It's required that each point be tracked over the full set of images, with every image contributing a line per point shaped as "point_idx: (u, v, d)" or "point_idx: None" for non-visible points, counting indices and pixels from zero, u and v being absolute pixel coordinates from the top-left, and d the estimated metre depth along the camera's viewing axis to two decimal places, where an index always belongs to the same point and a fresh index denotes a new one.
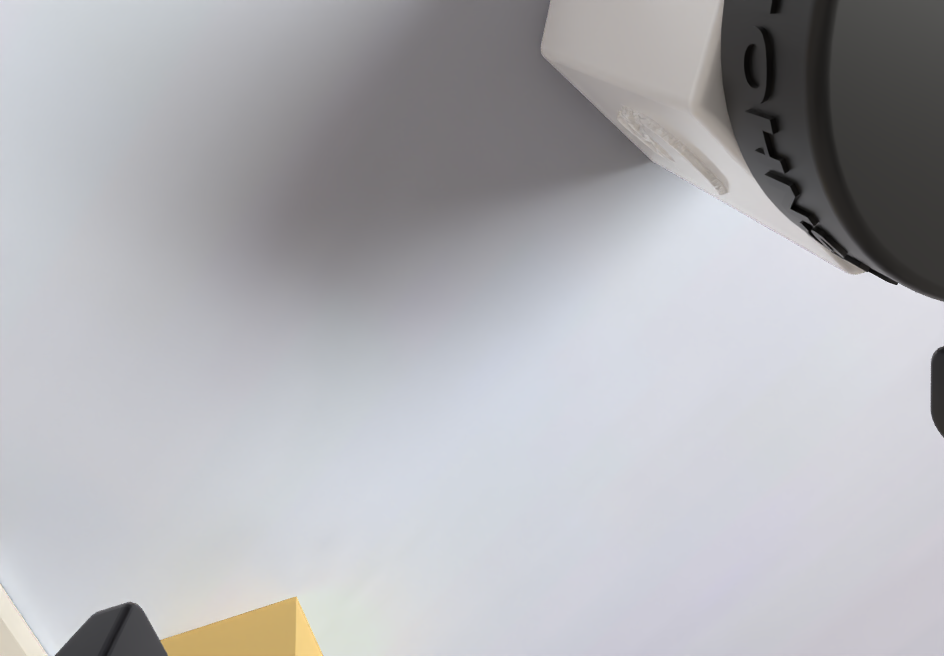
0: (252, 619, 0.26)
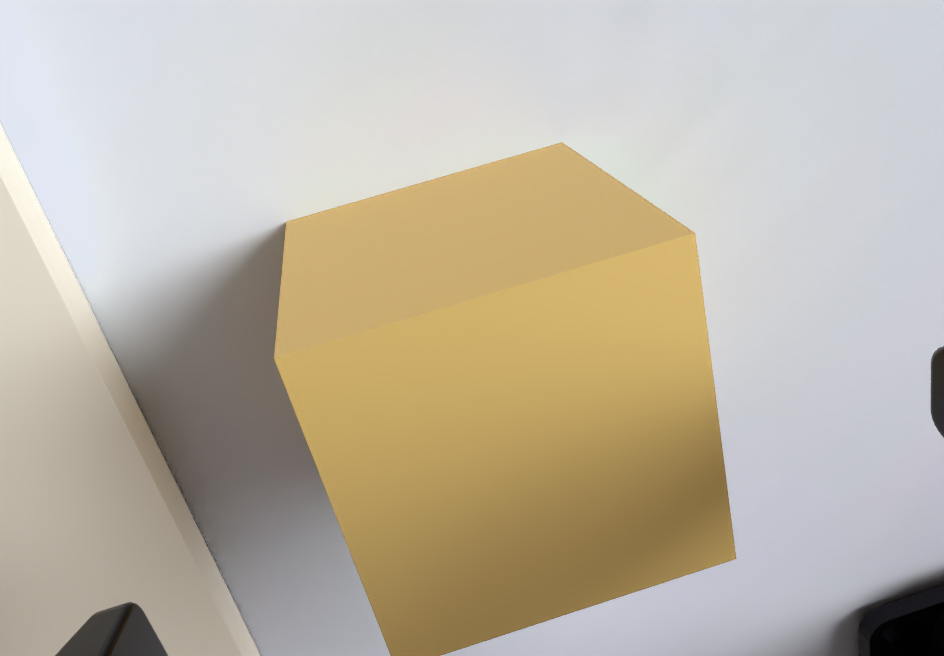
0: (480, 174, 0.12)
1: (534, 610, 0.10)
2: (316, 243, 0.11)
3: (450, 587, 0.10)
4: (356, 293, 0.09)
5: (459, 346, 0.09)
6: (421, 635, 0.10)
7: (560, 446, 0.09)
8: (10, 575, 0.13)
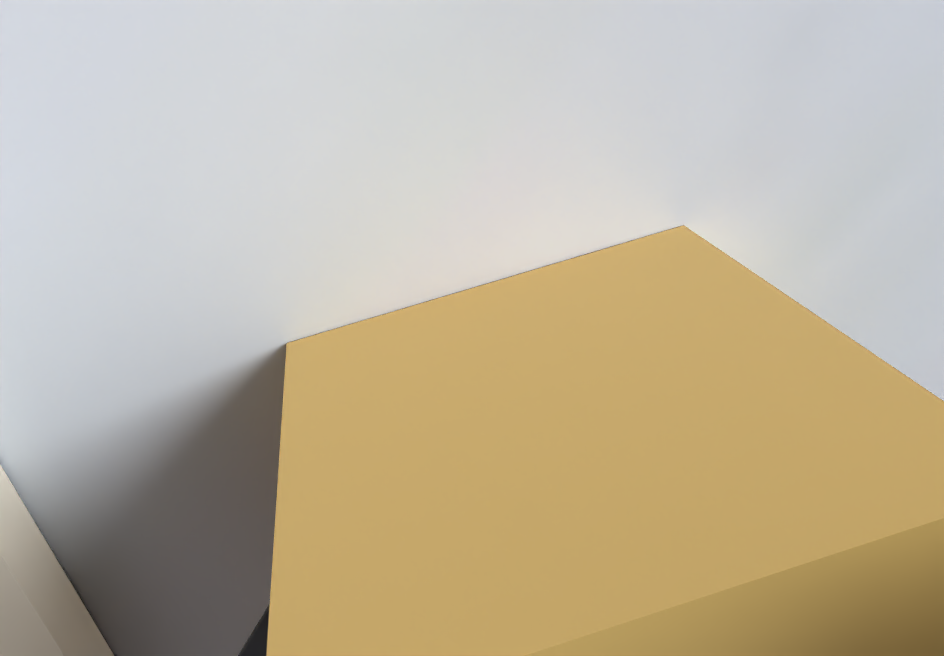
0: (571, 277, 0.08)
1: None
2: (333, 403, 0.07)
3: None
4: (408, 549, 0.05)
5: None
6: None
7: None
8: None
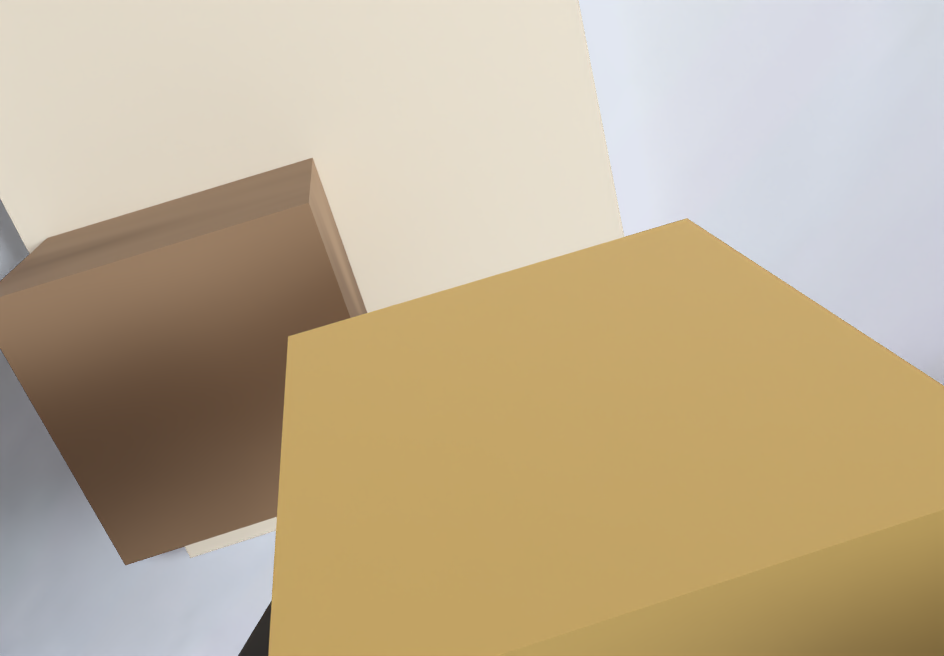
0: (574, 270, 0.08)
1: None
2: (335, 396, 0.07)
3: None
4: (412, 540, 0.05)
5: None
6: None
7: None
8: (516, 266, 0.20)
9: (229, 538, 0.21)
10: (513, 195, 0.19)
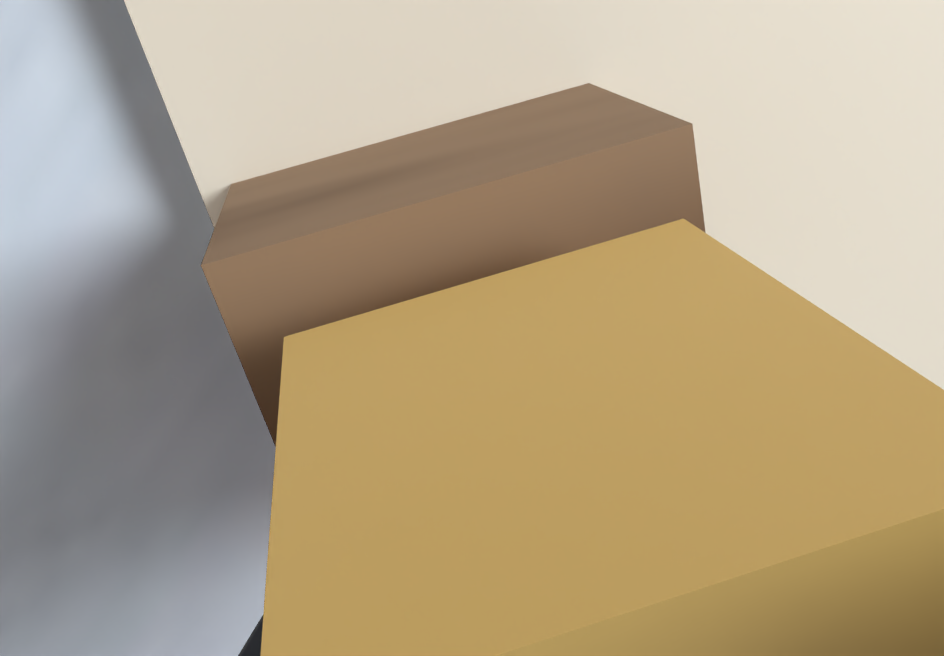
0: (570, 270, 0.08)
1: None
2: (330, 396, 0.07)
3: None
4: (404, 542, 0.05)
5: None
6: None
7: None
8: (815, 237, 0.15)
9: None
10: (828, 143, 0.15)
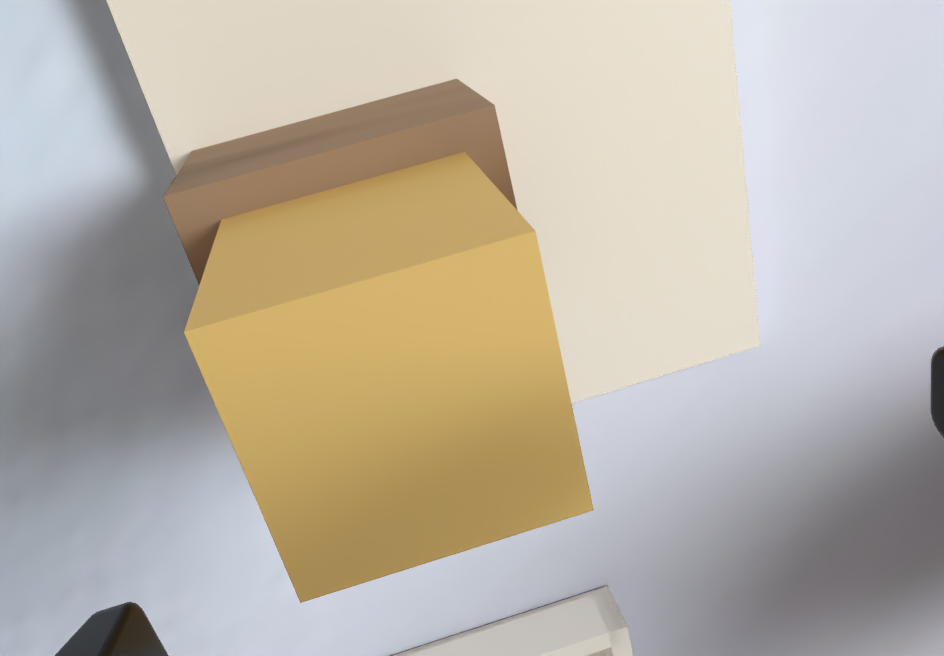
0: (390, 179, 0.14)
1: (418, 552, 0.12)
2: (241, 239, 0.13)
3: (343, 531, 0.12)
4: (261, 280, 0.11)
5: (340, 323, 0.10)
6: (320, 572, 0.12)
7: (432, 409, 0.11)
8: (640, 197, 0.20)
9: None
10: (644, 124, 0.19)
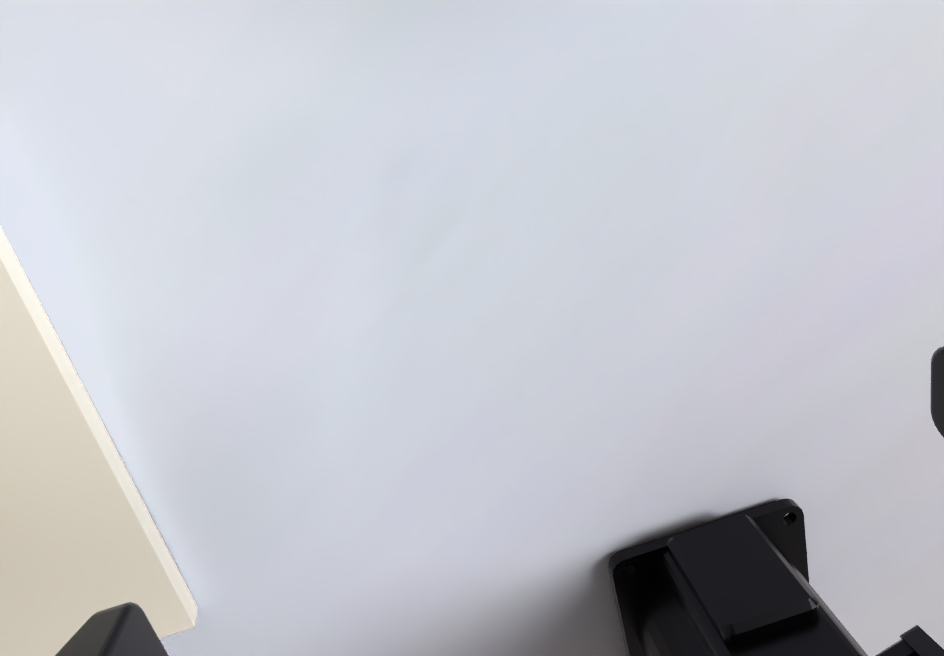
0: None
1: None
2: None
3: None
4: None
5: None
6: None
7: None
8: (16, 517, 0.21)
9: None
10: None
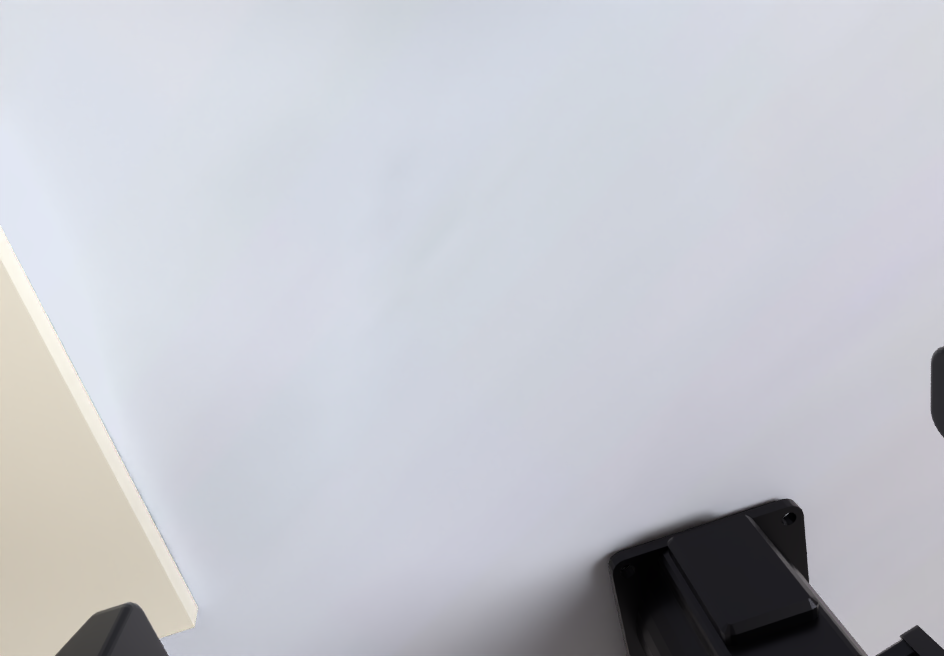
0: None
1: None
2: None
3: None
4: None
5: None
6: None
7: None
8: (16, 517, 0.21)
9: None
10: None
